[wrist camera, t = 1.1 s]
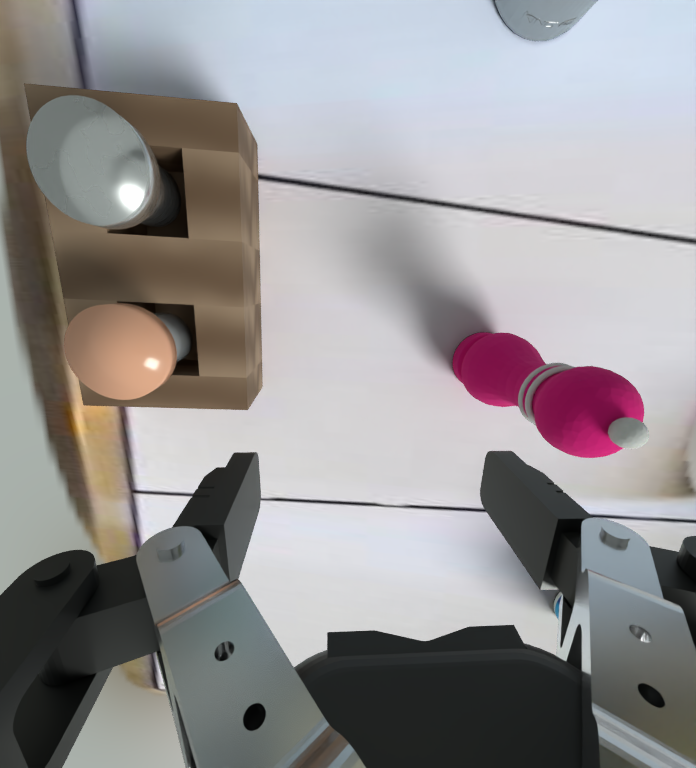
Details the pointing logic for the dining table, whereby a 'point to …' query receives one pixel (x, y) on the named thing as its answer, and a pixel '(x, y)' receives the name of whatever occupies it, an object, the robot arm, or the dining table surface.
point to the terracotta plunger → (125, 349)
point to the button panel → (179, 248)
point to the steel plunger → (98, 166)
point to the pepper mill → (553, 395)
